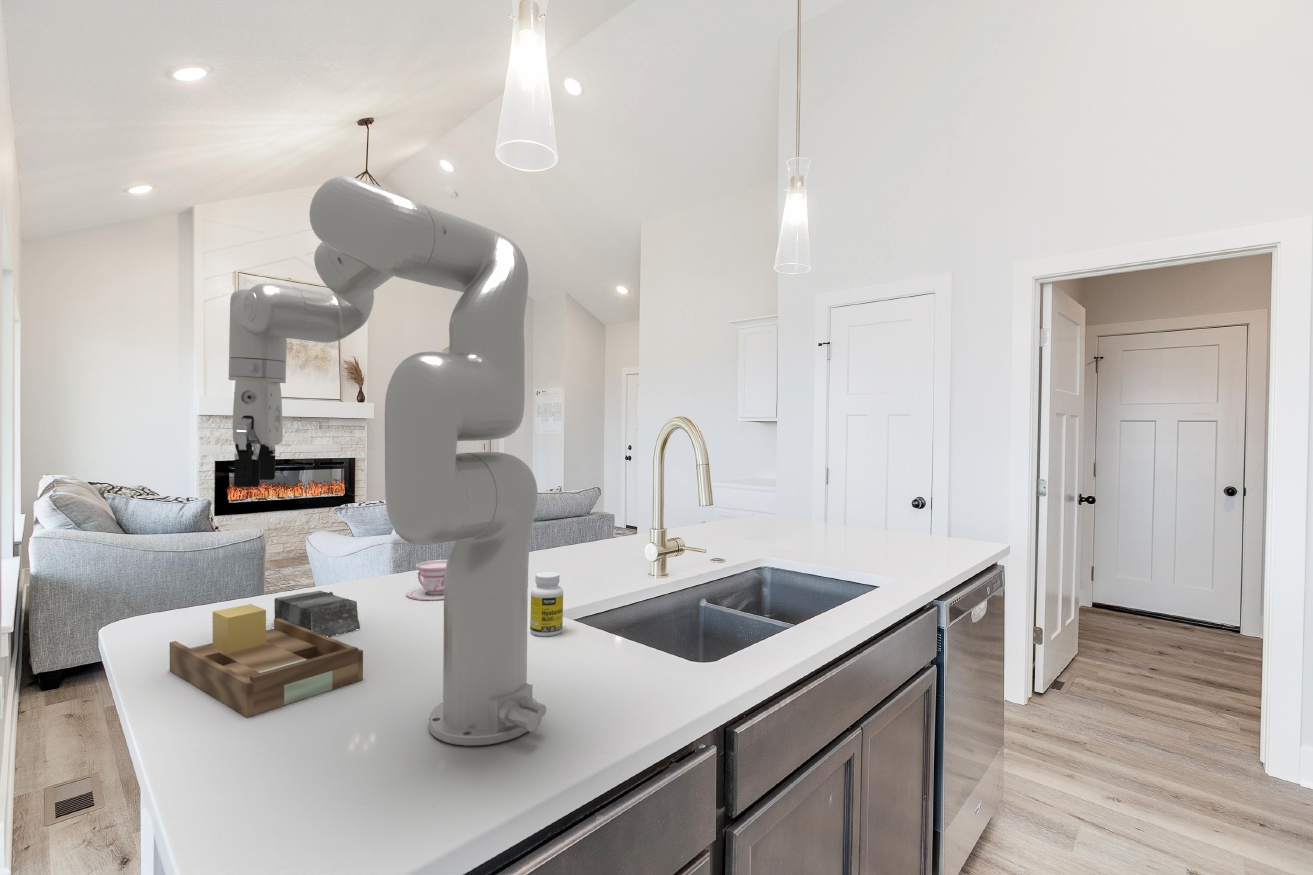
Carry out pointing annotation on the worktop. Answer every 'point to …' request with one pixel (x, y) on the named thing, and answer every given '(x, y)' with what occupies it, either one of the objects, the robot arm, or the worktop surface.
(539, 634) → the supplement bottle
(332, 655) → the box
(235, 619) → the block
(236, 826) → the worktop surface
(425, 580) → the teacup
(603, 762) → the worktop surface
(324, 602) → the stone block
